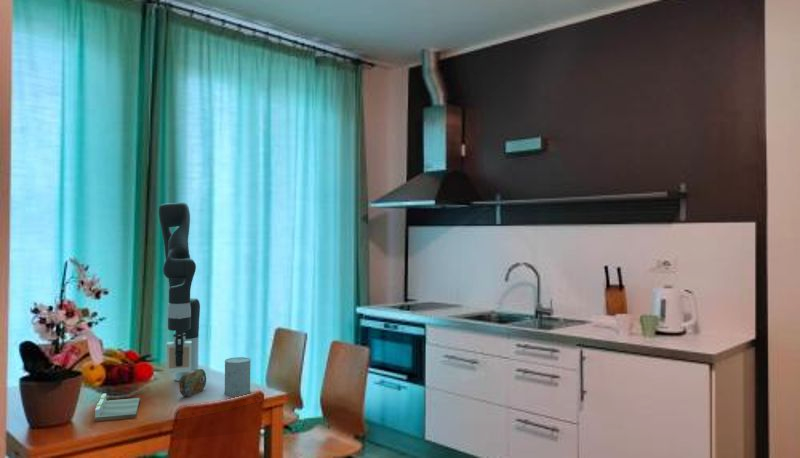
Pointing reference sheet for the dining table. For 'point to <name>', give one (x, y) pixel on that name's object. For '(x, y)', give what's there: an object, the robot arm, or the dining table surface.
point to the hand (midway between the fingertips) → (179, 364)
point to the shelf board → (119, 409)
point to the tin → (192, 382)
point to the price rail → (100, 405)
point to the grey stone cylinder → (237, 376)
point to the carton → (172, 358)
